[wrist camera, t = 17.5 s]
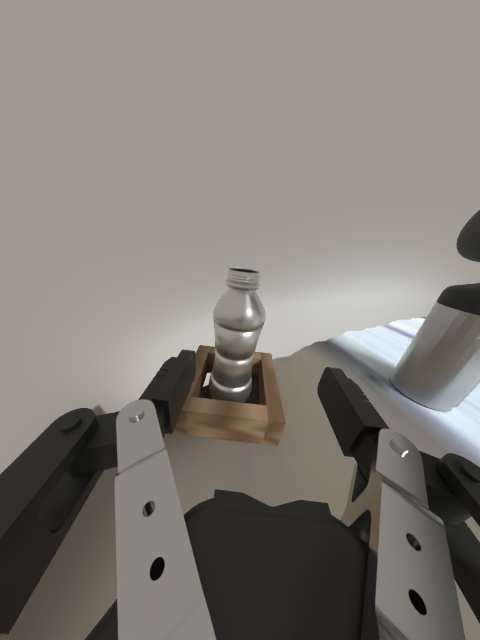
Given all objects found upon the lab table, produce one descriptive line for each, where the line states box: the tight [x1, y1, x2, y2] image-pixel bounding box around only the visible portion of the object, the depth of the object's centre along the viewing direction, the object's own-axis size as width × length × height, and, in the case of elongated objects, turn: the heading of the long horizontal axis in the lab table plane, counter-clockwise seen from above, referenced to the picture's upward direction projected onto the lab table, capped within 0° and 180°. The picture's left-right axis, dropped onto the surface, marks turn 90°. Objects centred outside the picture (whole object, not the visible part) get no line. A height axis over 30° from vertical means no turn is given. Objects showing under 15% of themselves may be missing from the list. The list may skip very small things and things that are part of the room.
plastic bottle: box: [209, 267, 265, 403], centre depth 24 cm, size 6×7×20 cm
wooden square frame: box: [172, 345, 285, 446], centre depth 27 cm, size 14×14×4 cm
